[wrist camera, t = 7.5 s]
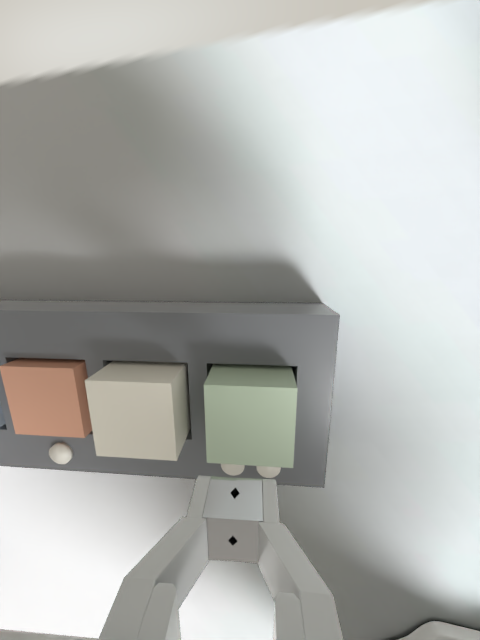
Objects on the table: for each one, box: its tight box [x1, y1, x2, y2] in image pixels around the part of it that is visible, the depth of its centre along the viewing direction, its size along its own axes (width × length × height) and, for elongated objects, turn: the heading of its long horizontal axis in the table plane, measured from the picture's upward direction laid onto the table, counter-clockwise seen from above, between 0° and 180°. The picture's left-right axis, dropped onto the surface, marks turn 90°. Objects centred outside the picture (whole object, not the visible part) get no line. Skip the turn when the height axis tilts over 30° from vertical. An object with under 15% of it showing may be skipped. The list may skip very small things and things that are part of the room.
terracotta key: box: [0, 358, 92, 438], centre depth 18 cm, size 5×5×4 cm
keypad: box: [0, 300, 340, 488], centre depth 19 cm, size 30×12×4 cm, turn 90°
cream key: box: [84, 361, 191, 461], centre depth 16 cm, size 5×5×4 cm
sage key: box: [204, 364, 298, 468], centre depth 16 cm, size 5×5×4 cm
